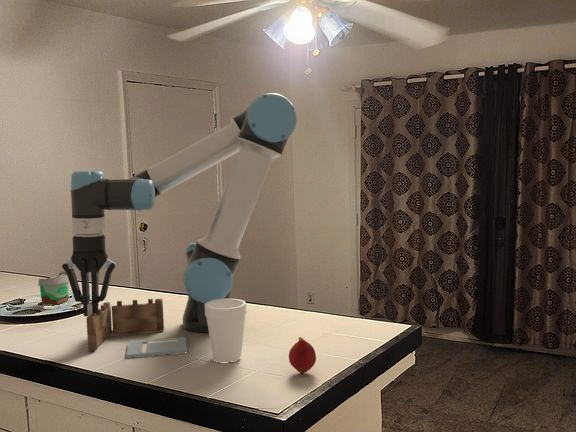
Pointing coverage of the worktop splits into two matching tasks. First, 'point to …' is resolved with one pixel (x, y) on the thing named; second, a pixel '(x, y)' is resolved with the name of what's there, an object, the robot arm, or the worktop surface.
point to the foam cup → (226, 328)
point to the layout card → (156, 347)
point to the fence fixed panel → (136, 318)
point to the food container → (54, 289)
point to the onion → (302, 356)
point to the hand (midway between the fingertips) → (91, 328)
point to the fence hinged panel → (97, 328)
